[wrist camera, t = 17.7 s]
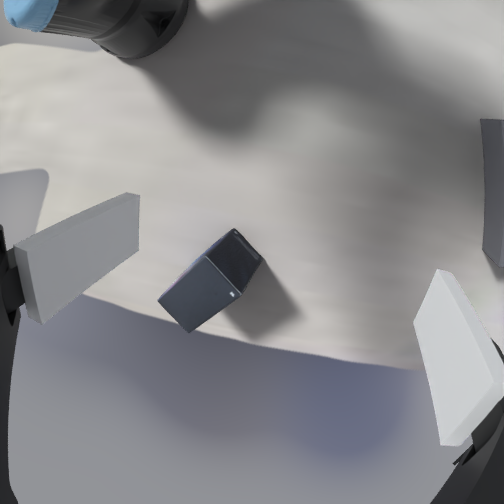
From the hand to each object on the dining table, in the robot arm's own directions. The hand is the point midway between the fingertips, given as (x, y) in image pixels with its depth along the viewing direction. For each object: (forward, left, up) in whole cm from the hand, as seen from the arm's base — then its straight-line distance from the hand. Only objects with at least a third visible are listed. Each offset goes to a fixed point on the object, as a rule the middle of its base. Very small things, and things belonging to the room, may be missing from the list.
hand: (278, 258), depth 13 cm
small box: (+12, -15, -29) cm, 35 cm away
